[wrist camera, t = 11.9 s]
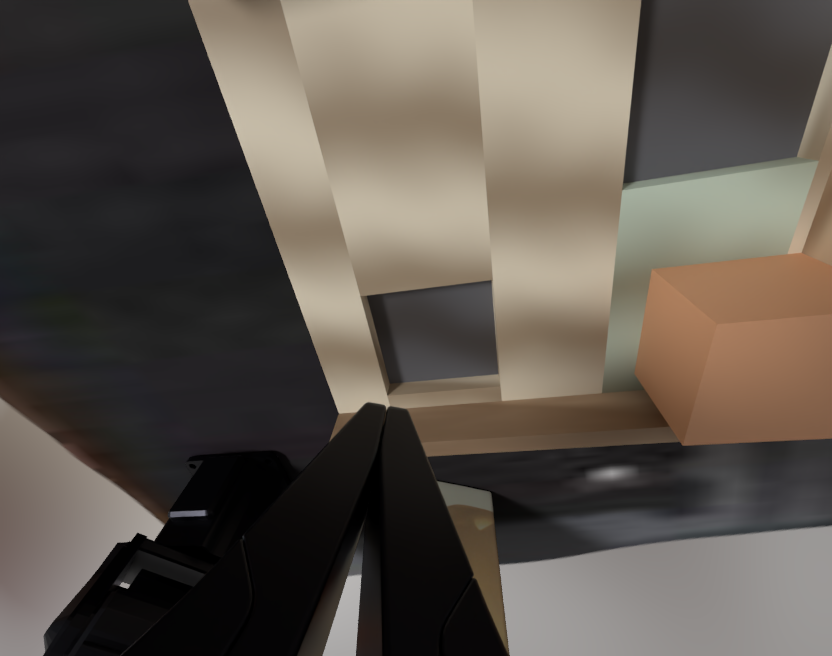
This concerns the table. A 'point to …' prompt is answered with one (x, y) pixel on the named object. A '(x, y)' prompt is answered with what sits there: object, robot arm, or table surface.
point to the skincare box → (478, 544)
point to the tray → (520, 188)
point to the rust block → (740, 349)
